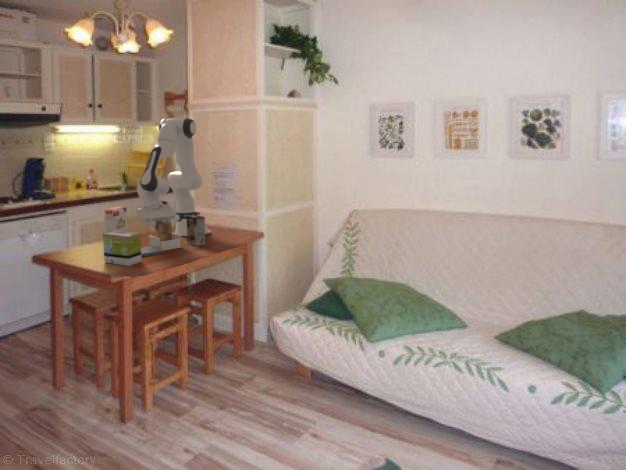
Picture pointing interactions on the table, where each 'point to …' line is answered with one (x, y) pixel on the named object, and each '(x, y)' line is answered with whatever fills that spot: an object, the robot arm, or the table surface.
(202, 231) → the coffee box
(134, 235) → the tea box
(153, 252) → the plate
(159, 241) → the white open bin
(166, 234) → the walnut box
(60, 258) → the table surface
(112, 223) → the cracker box
